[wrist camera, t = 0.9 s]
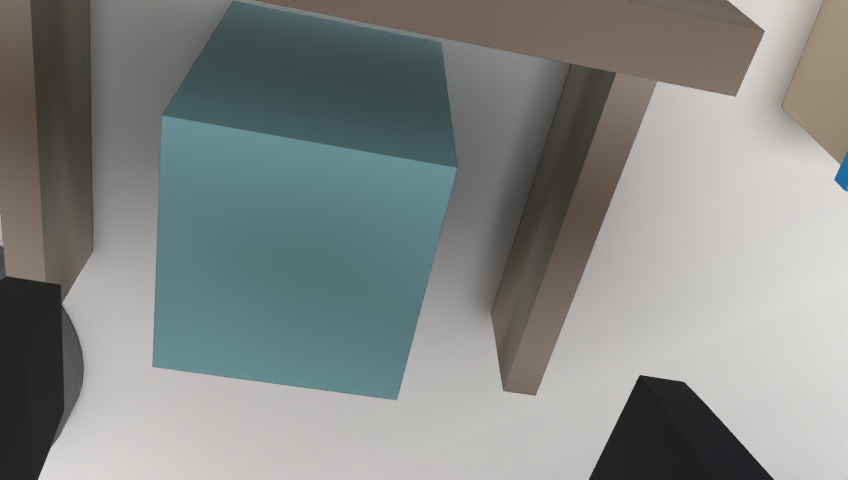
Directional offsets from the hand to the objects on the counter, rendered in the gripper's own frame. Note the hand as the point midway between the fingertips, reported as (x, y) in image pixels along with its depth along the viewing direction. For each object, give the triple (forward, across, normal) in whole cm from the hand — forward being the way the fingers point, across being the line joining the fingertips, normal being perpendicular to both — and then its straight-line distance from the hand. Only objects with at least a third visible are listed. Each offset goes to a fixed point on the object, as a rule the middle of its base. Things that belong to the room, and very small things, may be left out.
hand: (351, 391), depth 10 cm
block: (+10, +1, +1) cm, 10 cm away
